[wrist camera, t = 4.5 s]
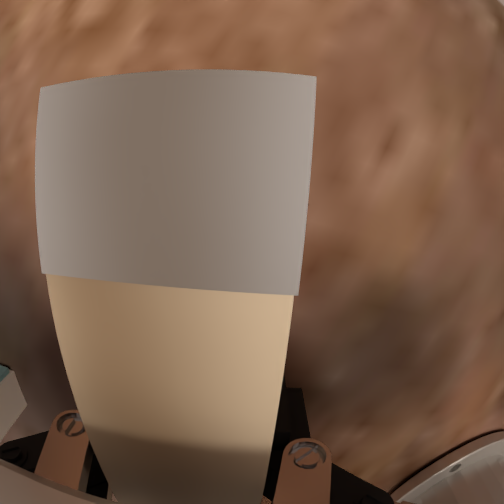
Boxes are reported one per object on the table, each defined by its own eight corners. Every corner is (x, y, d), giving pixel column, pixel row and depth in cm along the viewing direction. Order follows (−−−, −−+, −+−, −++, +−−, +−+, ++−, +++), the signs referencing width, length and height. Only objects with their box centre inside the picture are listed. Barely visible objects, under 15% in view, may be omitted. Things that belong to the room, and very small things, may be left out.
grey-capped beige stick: (280, 125, 10) (316, 76, 4) (247, 489, 14) (245, 579, 9) (153, 122, 10) (40, 87, 4) (175, 482, 14) (157, 568, 9)
